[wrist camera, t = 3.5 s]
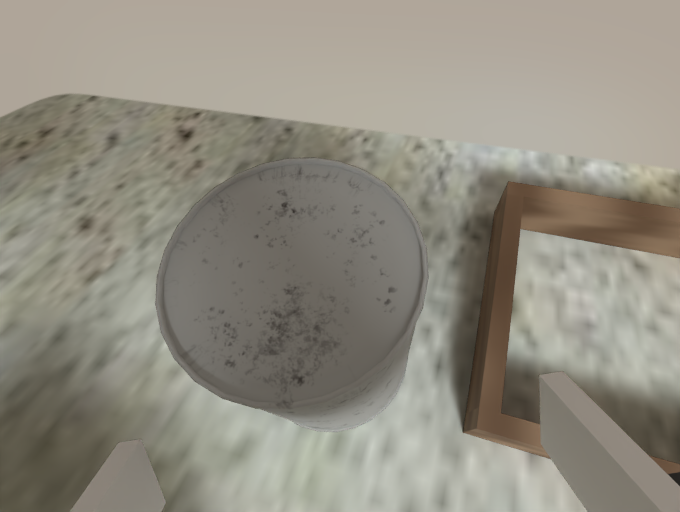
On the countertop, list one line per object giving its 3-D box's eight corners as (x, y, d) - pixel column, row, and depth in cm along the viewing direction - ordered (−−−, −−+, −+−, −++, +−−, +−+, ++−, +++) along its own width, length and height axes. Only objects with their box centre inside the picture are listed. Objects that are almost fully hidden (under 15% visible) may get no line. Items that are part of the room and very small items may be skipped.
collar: (463, 432, 21) (476, 428, 18) (494, 212, 28) (508, 181, 24) (789, 531, 18) (873, 547, 15) (740, 255, 24) (793, 226, 21)
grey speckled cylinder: (226, 370, 24) (99, 301, 13) (315, 256, 27) (270, 125, 16) (352, 469, 21) (318, 484, 10) (436, 327, 24) (479, 222, 13)
